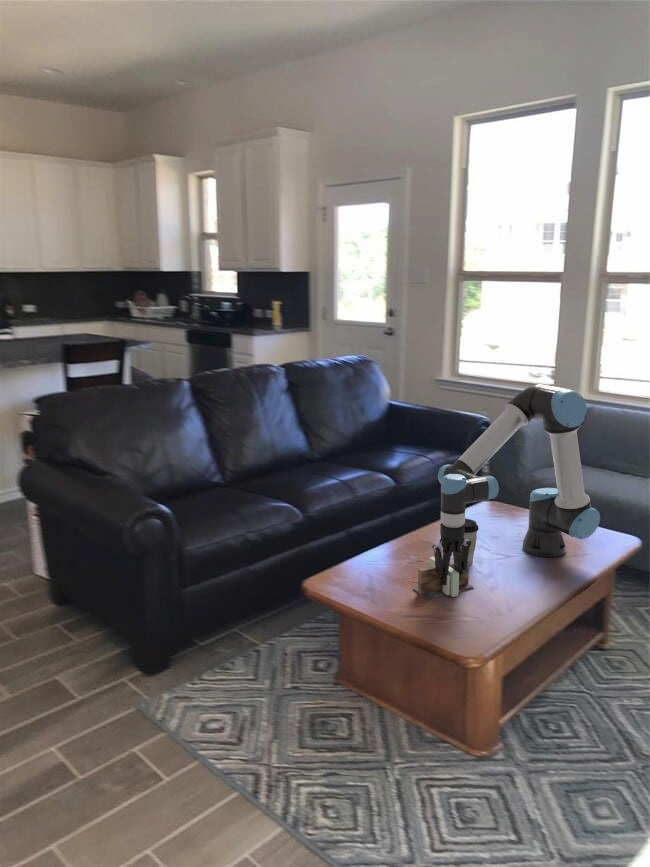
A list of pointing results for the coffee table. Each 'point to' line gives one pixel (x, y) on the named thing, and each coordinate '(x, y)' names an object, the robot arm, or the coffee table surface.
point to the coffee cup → (471, 537)
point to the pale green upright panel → (453, 578)
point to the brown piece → (437, 582)
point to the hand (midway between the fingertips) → (450, 592)
